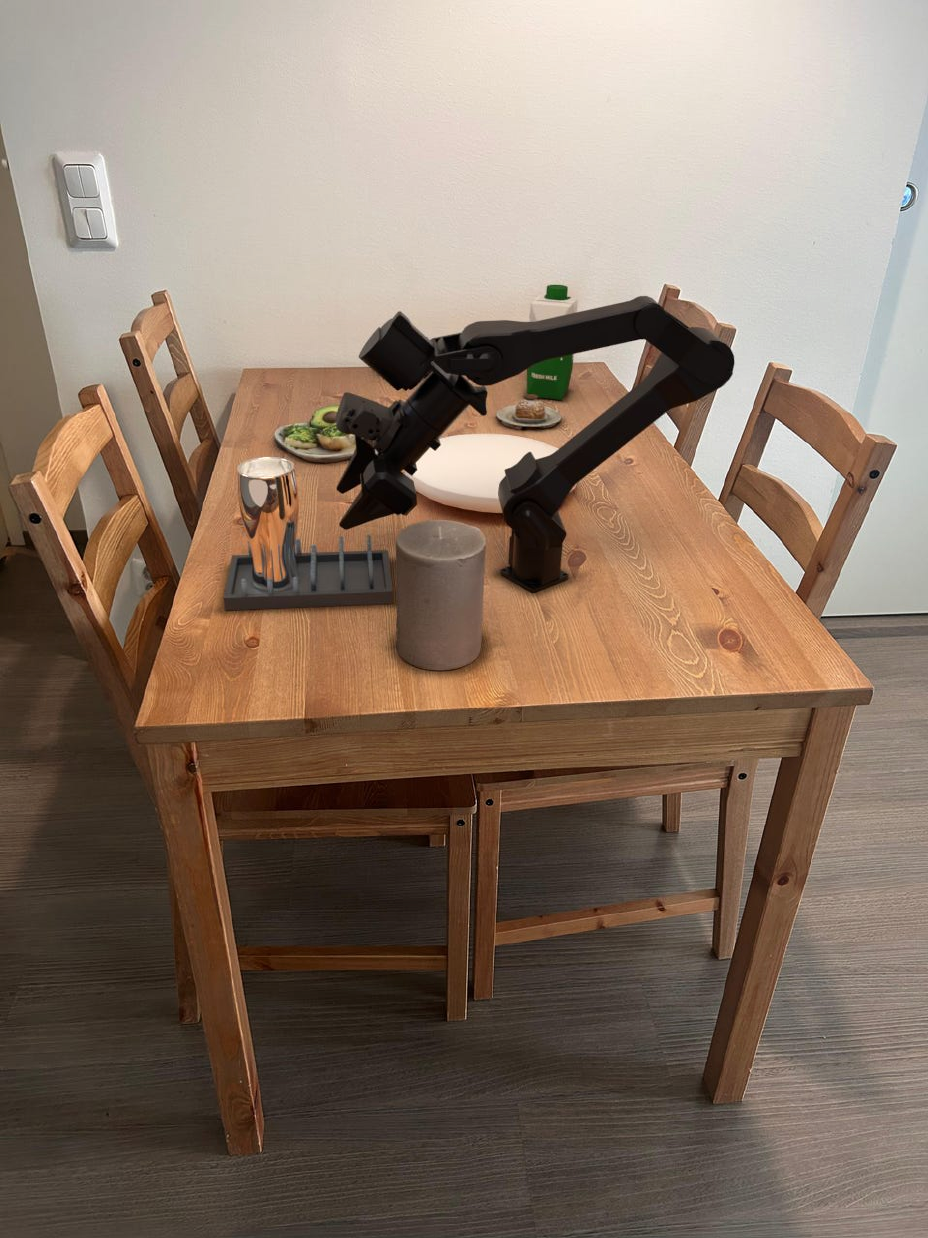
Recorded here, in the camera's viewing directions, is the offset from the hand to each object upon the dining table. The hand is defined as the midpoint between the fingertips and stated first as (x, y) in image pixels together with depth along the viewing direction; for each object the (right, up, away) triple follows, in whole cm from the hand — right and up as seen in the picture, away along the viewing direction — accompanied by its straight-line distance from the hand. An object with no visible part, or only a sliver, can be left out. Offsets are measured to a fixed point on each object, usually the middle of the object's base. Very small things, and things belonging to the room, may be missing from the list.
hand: (340, 508), depth 113 cm
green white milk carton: (+32, +32, +72) cm, 85 cm away
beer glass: (-8, -9, +3) cm, 12 cm away
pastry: (+27, +23, +59) cm, 68 cm away
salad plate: (-8, +16, +46) cm, 50 cm away
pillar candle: (+12, -17, -8) cm, 22 cm away
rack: (-4, -9, +4) cm, 11 cm away
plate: (+19, +7, +31) cm, 37 cm away
